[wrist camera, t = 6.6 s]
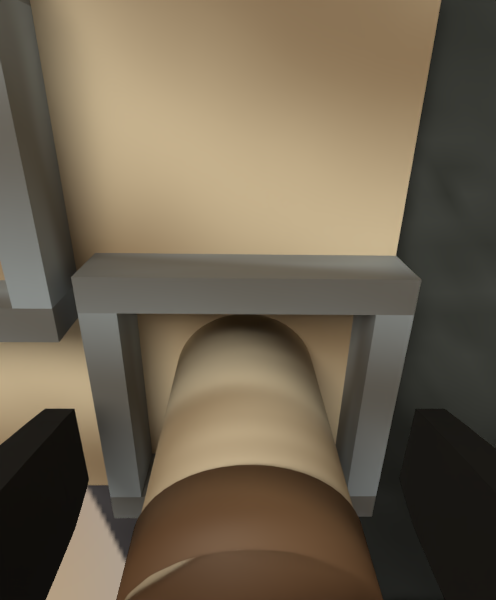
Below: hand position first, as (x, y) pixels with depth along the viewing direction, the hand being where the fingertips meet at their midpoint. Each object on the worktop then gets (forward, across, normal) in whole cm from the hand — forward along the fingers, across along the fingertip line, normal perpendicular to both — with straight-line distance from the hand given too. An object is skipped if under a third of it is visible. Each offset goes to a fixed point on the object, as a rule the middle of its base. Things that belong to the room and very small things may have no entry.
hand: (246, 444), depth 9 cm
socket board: (+3, +4, -2) cm, 6 cm away
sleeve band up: (+2, 0, 0) cm, 2 cm away
